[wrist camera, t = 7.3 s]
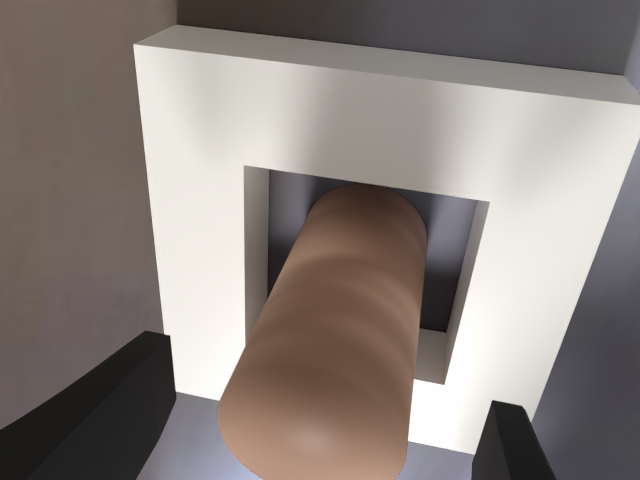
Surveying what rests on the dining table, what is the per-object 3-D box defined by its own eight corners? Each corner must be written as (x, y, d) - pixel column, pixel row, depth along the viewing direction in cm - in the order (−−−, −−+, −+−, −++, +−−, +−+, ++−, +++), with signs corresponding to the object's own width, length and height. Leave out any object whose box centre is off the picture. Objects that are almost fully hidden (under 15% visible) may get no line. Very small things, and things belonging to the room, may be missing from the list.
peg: (438, 195, 17) (423, 390, 10) (415, 300, 19) (390, 517, 13) (309, 173, 18) (215, 345, 11) (300, 277, 20) (218, 474, 13)
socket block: (623, 76, 14) (651, 106, 12) (510, 405, 21) (515, 463, 19) (175, 24, 16) (133, 44, 14) (197, 343, 22) (170, 390, 20)
